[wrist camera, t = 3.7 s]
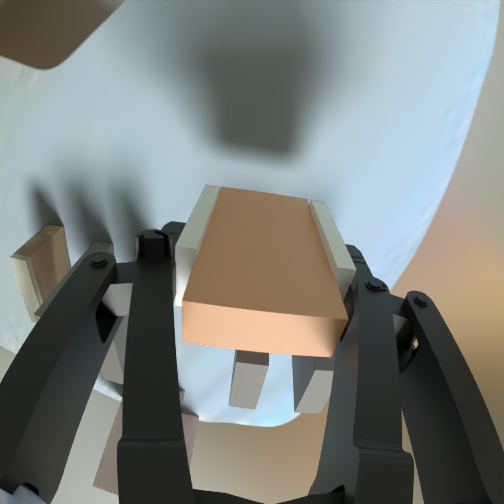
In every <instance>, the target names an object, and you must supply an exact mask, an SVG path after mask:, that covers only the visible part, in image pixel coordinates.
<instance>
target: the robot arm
mask: <svg viewBox="0 0 504 504" xmlns="http://www.w3.org/2000/svg"><path fill="white" fill-rule="evenodd" d="M219 188H220V187H218V186H209V185H205V187H204V189H203V191H202V193H201V195H200V197H199V199H198V201H197V203H196V205H195V207H194V209H193V211H192V213H191V215H190V217H189V219H188V221H187V223H182V222H174V221H171V222H169V223H167V224H166V225H164V226H163V228H162V230H157V229H152V230H146V231H143V232H141V233H139V234H138V235H137V236H136V238H135V242H136V257H137V259H136V261H134V262H128V263H116V259H115V256H113V255H112V254H111V253H107V252H97V253H96V252H95V253H92V254H90V255H88V256H87V257H85V258H84V259H83V260H82V262H81V263H80V264H79V266H78V267H77V268H76V269H75V271H74V272H73V273H72V275H71V276H70V277H69V278H68V280H67V281H66V282H65V284H64V285H63V286H62V288H61V289H60V291H59V292H58V293H57V295H56V296H55V297H54V299H53V300H52V302H51V303H50V304H49V306H48V307H47V309H46V310H45V312H44V313H43V314H42V316H41V317H40V319H39V320H38V322H37V323H36V325H35V326H34V328H33V329H32V331H31V332H30V334H29V336H28V337H27V339H26V340H25V342H24V343H23V345H22V347H21V348H20V350H19V352H18V353H17V355H16V357H15V358H14V360H13V362H12V363H11V365H10V367H9V369H8V370H7V372H6V374H5V376H4V377H3V379H2V381H1V383H0V504H50V503H51V502H52V499H53V498H54V496H55V494H56V492H57V490H58V487H59V484H60V481H61V478H62V475H63V472H64V469H65V466H66V463H67V459H68V456H69V453H70V450H71V447H72V444H73V441H74V438H75V435H76V432H77V429H78V426H79V423H80V421H81V418H82V415H83V413H84V410H85V407H86V404H87V402H88V399H89V396H90V394H91V391H92V389H93V386H94V384H95V381H96V379H97V377H98V374H99V372H100V369H101V367H102V364H103V362H104V360H105V357H106V355H107V353H108V350H109V348H110V346H111V343H112V341H113V339H114V337H115V334H116V332H117V330H118V328H119V326H120V323H121V321H122V319H123V316H126V315H129V317H128V326H127V337H126V348H125V362H124V378H123V404H122V437H121V439H120V440H119V441H118V444H117V479H118V495H119V504H263V503H259V502H255V501H252V500H248V499H244V498H241V497H238V496H234V495H231V494H227V493H221V492H212V491H204V490H197V489H193V488H192V482H191V476H190V470H189V464H188V457H187V450H186V444H185V437H184V430H183V421H182V413H181V404H180V394H179V384H178V372H177V360H176V346H175V329H174V308H173V302H174V299H175V300H176V306H182V298H183V295H184V292H185V289H186V286H187V283H188V280H189V277H190V274H191V271H192V268H193V265H194V262H195V260H196V259H197V256H198V253H199V250H200V247H201V244H202V241H203V238H204V235H205V232H206V229H207V226H208V224H209V221H210V218H211V215H212V212H213V209H214V207H215V204H216V201H217V198H218V196H219ZM310 210H311V213H312V216H313V218H314V221H315V224H316V227H317V229H318V232H319V235H320V238H321V241H322V244H323V246H324V249H325V252H326V255H327V258H328V261H329V264H330V267H331V270H332V273H333V276H334V278H335V279H336V282H337V285H338V288H339V291H340V294H341V297H342V300H343V303H344V306H345V310H346V313H347V316H348V319H349V320H348V322H347V324H346V326H345V328H344V331H343V333H342V335H341V337H340V339H339V341H338V344H337V346H336V354H335V363H334V371H333V380H332V387H331V395H330V402H329V409H328V415H327V422H326V428H325V434H324V440H323V445H322V450H321V456H320V461H319V466H318V471H317V475H316V478H315V480H314V482H313V485H312V486H311V488H310V490H309V493H308V496H305V497H301V498H298V499H294V500H290V501H286V502H282V503H277V504H412V502H413V485H414V461H413V457H412V455H411V454H410V453H408V452H405V451H404V450H403V449H402V416H401V414H402V413H401V408H402V411H403V415H404V419H405V422H406V426H407V430H408V433H409V437H410V441H411V445H412V449H413V454H414V458H415V461H416V467H417V471H418V476H419V480H420V485H421V490H422V495H423V500H424V504H504V451H503V449H502V446H501V442H500V440H499V437H498V434H497V431H496V429H495V426H494V424H493V421H492V419H491V417H490V414H489V411H488V409H487V407H486V404H485V402H484V399H483V397H482V395H481V392H480V390H479V388H478V386H477V384H476V381H475V380H474V377H473V375H472V373H471V371H470V369H469V367H468V365H467V363H466V361H465V359H464V357H463V355H462V353H461V351H460V349H459V347H458V345H457V343H456V341H455V340H454V338H453V336H452V334H451V333H450V331H449V329H448V327H447V325H446V323H445V321H444V320H443V318H442V316H441V314H440V313H439V311H438V309H437V308H436V306H435V304H434V303H433V301H432V300H431V299H430V298H429V297H428V296H427V295H426V294H424V293H422V292H418V291H410V292H408V293H407V295H406V297H405V299H403V298H400V297H397V296H394V295H391V294H390V293H389V289H388V286H387V285H386V284H385V283H384V282H383V281H381V280H379V279H378V278H375V277H373V275H372V273H371V271H370V269H369V267H368V265H367V264H366V261H365V259H364V257H363V255H362V253H361V252H360V251H359V250H358V249H357V248H356V247H355V246H354V245H347V244H345V243H344V241H343V239H342V237H341V235H340V233H339V231H338V229H337V227H336V224H335V222H334V220H333V218H332V216H331V214H330V212H329V210H328V208H327V206H326V204H325V202H320V201H314V200H311V203H310ZM416 339H417V341H418V346H417V348H415V347H414V345H413V343H414V342H415V340H416Z"/></svg>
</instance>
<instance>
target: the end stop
mask: <svg viewBox="0 0 504 504" xmlns="http://www.w3.org/2000/svg"><path fill="white" fill-rule="evenodd" d="M10 259H11V263H12V266H13V269H14V273H15V276H16V279H17V282H18V285H19V288H20V291H21V294H22V297H23V300H24V302H25V305H26V308H27V310H28V313H29V316H30V318H31V321H33V322H35V323H37V322H36V319H35V317H34V313H35V312H36V311H37V309H38V308H39V307H40V306H41V304H42V303H43V302H44V300H45V299H46V298H47V297H48V295H49V294H50V293H51V292H52V290H53V289H54V288H55V287H56V286H57V284H58V283H59V282H60V281H61V280H62V278H63V277H64V276H65V275H66V274H67V273H68V271H69V270H70V269H71V265H70V260H69V255H68V249H67V244H66V238H65V232H64V226H58V225H51V224H47V225H46V226H45V227H44V228H43V229H41V230H40V231H39V232H38V233H37V234H35V235H34V236H33V237H32V238H31V239H30V240H28V241H27V242H26V243H25V244H24V245H23V246H22V247H20V248H19V249H18V250H17V251H16V252H15V253H14V254H13V255H12V256H11V257H10Z"/></svg>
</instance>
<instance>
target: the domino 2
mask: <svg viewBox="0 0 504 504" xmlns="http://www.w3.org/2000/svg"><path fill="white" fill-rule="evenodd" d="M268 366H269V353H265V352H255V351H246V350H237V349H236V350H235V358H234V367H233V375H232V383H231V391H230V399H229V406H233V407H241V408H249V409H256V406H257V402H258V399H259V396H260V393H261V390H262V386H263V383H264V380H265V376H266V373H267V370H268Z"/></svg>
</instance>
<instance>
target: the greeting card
mask: <svg viewBox="0 0 504 504" xmlns="http://www.w3.org/2000/svg"><path fill="white" fill-rule="evenodd" d="M184 392H185V390H184V391H179V394H180V404H182V400H183V396H184ZM122 404H123V398H122V401H121V403H120V406H119V409H118V412H117V414H116V417H115V420H114V423H113V426H112V429H111V431H110V434H109V437H108V440H107V443H106V446H105V449H104V452H103V455H102V458H101V461H100V464H99V467H98V471H97V474H96V477H95V480H94V484H93V486H94V487H97V488H100V489H103V490H105V491H108V492H111V493H114V494H117V495H118V479H117V444H118V441H119V440H120V439H121V437H122ZM198 419H199V416H194V415H189V414H184V413H182V421H183V430H184V437H185V444H186V450H187V457H188V464H189V467H190V463H191V456H192V451H193V446H194V440H195V435H196V429H197V424H198Z"/></svg>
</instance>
